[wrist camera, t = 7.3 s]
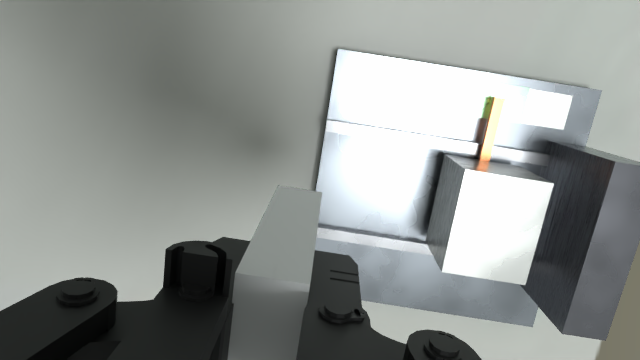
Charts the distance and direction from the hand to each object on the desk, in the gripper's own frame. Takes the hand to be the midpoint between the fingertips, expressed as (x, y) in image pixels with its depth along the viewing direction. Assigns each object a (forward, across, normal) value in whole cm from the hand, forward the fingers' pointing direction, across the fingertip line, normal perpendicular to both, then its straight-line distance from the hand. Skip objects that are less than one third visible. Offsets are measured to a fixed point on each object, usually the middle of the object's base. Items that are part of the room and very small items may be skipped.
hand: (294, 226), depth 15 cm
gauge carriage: (+9, +9, +1) cm, 13 cm away
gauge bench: (+11, +8, -1) cm, 14 cm away
